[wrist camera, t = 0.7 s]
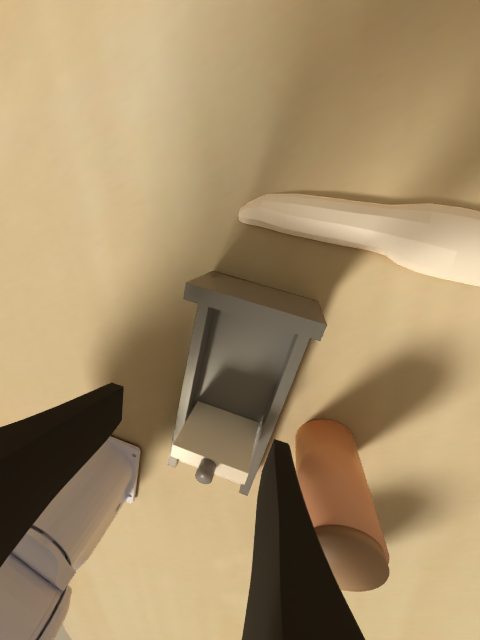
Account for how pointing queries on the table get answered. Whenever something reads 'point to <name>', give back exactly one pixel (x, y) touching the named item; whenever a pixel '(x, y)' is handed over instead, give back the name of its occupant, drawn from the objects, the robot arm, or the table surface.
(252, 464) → the grey tray
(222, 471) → the pusher
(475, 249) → the spatula
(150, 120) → the table surface
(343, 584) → the jar
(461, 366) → the table surface
